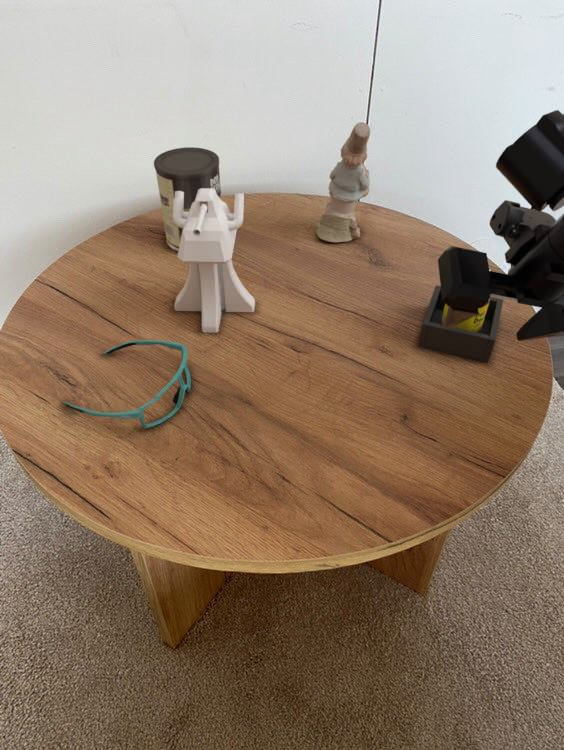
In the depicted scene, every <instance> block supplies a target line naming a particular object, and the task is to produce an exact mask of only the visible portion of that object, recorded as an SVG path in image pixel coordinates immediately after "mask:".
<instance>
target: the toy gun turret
mask: <svg viewBox="0 0 564 750" xmlns="http://www.w3.org/2000/svg"><path fill="white" fill-rule="evenodd" d="M233 202H234V204H233V205H234V206H233V212H231V211H230V208H229V206H228V204H227V203H226V202H225V201H223V200H222V198H221V199H220V198H219V197H218V195H217V193H216V191H215V190H214V189H211V188H201V189H199V190H198V192H197V196H196V199H195V201H194V202H193V203H192V205H191V208H190V210H189V212H185V211H183V206H184V192H182V191H175V198H174V199H173V221H174V223H175V224H176V225H177V226H178V227H180V228H183V231H182V235H181V240H180V246H179V252H178V251H177V258H178V259H179V260H180V261H181V262H183V263H184V264H189V269H188V270H189V271H188V272H189V273H188V276H187V279H186V282H185V284H184V286H183V287H182V289H181V291H180V292H179V293H178V294H177V296H176V298H175V301H174V306H173V307H174V311H176V312H201V331H202V332H203V333H206V334H207V333H210V334H215V333H219V330H220V324H221V320H222V314H225V313H254V312H255V308H256V300H255V297H254V296H253V295H252V294H251V293H249V291H248V290H247V289H246V287H245V286H244V285H243V283H242V281H241V280H240V278H239V276H238V274H237V272H236V270H235V268H234V265H233V260H232V259H233V253H234V249H235V248H234V247H235V242H236V237H237V231H238V229H240V228H241V226H242V225H243V223H244V213H245V212H244V211H245V203H244V202H245V194H244V193H243V192H235V193H234V201H233Z"/></svg>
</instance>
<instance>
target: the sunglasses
mask: <svg viewBox="0 0 564 750" xmlns="http://www.w3.org/2000/svg"><path fill="white" fill-rule="evenodd" d="M154 345H159V346H163V347H167V348H168V349H171V350H177V351H180V352H181V362H180V365H179V367H178V369H177V371H176V373H175V375H173V377H172V379H170V381H169V382H168V383H167V384H166V385H165V386H164V387H163V388H162V389H161V390H160V391H159V392H158V393H157V394H155V395H154V397H153V398H152V399H151V400H149V401H148V402H146V403H145V404H143V405H141V406H139V407H138V408H137V409H135V410H128V411H127V410H126V411H119V412H100V411H94V410H90V409H87V408H83V407H79V406H77V405H74V404H71V403H70V402H68V401H64V404H65V405H66V406H67V407H68V408H70V409H72V410H74V411H76V412H79V413H83V414H86V415H88V416H91V417H92V416H93V417H103V418H114V419H120V420H130V419H138V420H139V423H140V425H141V426H142V427H143V428H144V429H150V428H153V427H156V426H157V425H160V424H162V423H164V422H166V421H167V420H169V419H170V418H172V417H173V416H174V415H175V414H176V413H177V412H178V411H179V410H180V408H181V406H182V404H183V401H184V398H185V394H186V393H190V391H191V386H192V385H191V383H192V382H191V381H192V380H191V379H192V378H191V375H190V374H191V373H190V370H189V367H188V364H187V360H188V354H189V352H188V349H187V347H186V345H185V344H184V343H179V342H176V341H175V342H174V341H169V340H155V339H154V340H153V339H147V340H143V339H142V340H139V339H137V340H131V341H127V342H123V343H121V344H119V345H116V346H113V347H112V348H109V349H108V350H106V351H103V354H104V355H106V356H108V355H111V354H113V353H115V352H118V351H120V350H122V349H125V348H126V349H127V348H128V347H129V348H130V347H133V346H154ZM183 371H184V373H185V377H186V378H185V379H186V383H185V381H184V379H183V375H182V373H183ZM176 381H178V384H179V386H178V389H177V390H176V392H175V394H173V398H172V403H173V404H175V405H176V406H175V407H174V408H173V409H172V410H171V411H170V412H169V413H168V414H167V415H165V416H164V417H162V418H160V419H157V420H156V421H154V422H151V423H146V421H145V417H144V410H145V409H146V408H148V407H150V406H151V405H153V404H154V403H156V402H158V401H159V399H160V397H161V396H162V395H164V394H166V392H167V391H168V390H169V389H170V388H171V387H172V386H173V385H174V384H175V383H176Z"/></svg>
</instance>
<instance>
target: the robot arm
mask: <svg viewBox="0 0 564 750" xmlns="http://www.w3.org/2000/svg"><path fill="white" fill-rule="evenodd" d="M495 168H496V169H497V170H498V172H499V173H500V174H501V175H502V176H503V177H504V178H505V179H506V180H507V181H508V183H510V185H511V186H512V187H513V188H514V189H515V190H516V191H517V192H518V194H519V195H521V196H522V198H523V199H524V200H525V201H526V202H527V203H528V204H529V206H531V207H532V208H530V207H524V206H521V203H520V202H515V201H511V200H507V199H505V200H504V201H503V202H502V203H501V204H500V205H499V206H497V208H496V209H495V210H494V212H493V214H492V215H491V218H490V220H489V226H490V227H489V228H491V230H492V231H493V233H494V235H495V236H498V237H501V238H503V239H504V241H505V242H506V244H507V246H508V250H506V252H504V258H505V264H510V268H509V269H508V271H507V273H502V272H498V271H492V270H490V271H489V269H490V266H489V260H488V256H487V255H488V254H487V252H483V251H479V250H474V249H470V248H465V247H460V246H456V245H450V246H448V247H447V248H446V249H445V250H444V251H443V252H442V254H441V255H440V256H439V257H438V259H437V266H438V275H439V280H440V281H439V283H440V286H441V292H442V301H444V302H445V303H446V304H447V305H448V306H449V308H448V311H447V315H446V318H445V326H446V328H452V327H454V326H457V325H458V324H460V323H462V322H464V321H466V320H468V319H470V318H472V317H473V316H475V315H477V314H478V313H479V312H478V308H482V307H483V306H485V305H486V304H487V303H488V301H489V298H490V296H491V297H494V298H499V299H506V300H512V301H516V302H517V304H520V305H525V306H531V307H535V308H539V310H537V312H535V313H534V314H533V315H532V316H531V317H530V318H529V319H528V320H527V321H526V322H525V323H524V324H523V325H522V326H521V327H520V328H519V329H518V331H516V340H517V341H518V342H524V341H532V340H538V339H546V338H554V337H563V336H564V212H563V213H562V214H561V215H560V216H559V217H558V218H557V219H555V217H554V216H553V215H552V214H550V213H548V212H545V211H544V210H545V209H546V208H550V210H551V211H552V212H556V211H558V210H560V209H561V208H563V207H564V114H563V113H562V112H561V111H560V110H559V109H555V110H552V111H550V112H548V113H545V114H543V115H542V116H541V117H540V118H539V120H538V121H537V122H536V123H535V124H534V125H532V126H531V127H530V128H528V129H527V130H526V131H525V132H524V133H522V134H521V135H520V136H519V137H518V138H517V139H516V140H515V141H514V142H513V143H512V144H510V145H508V146H507V147H506V148H505V149H504V150H502V153H501V154H500V155H499V157H498V159H497V161H496V162H495Z"/></svg>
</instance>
